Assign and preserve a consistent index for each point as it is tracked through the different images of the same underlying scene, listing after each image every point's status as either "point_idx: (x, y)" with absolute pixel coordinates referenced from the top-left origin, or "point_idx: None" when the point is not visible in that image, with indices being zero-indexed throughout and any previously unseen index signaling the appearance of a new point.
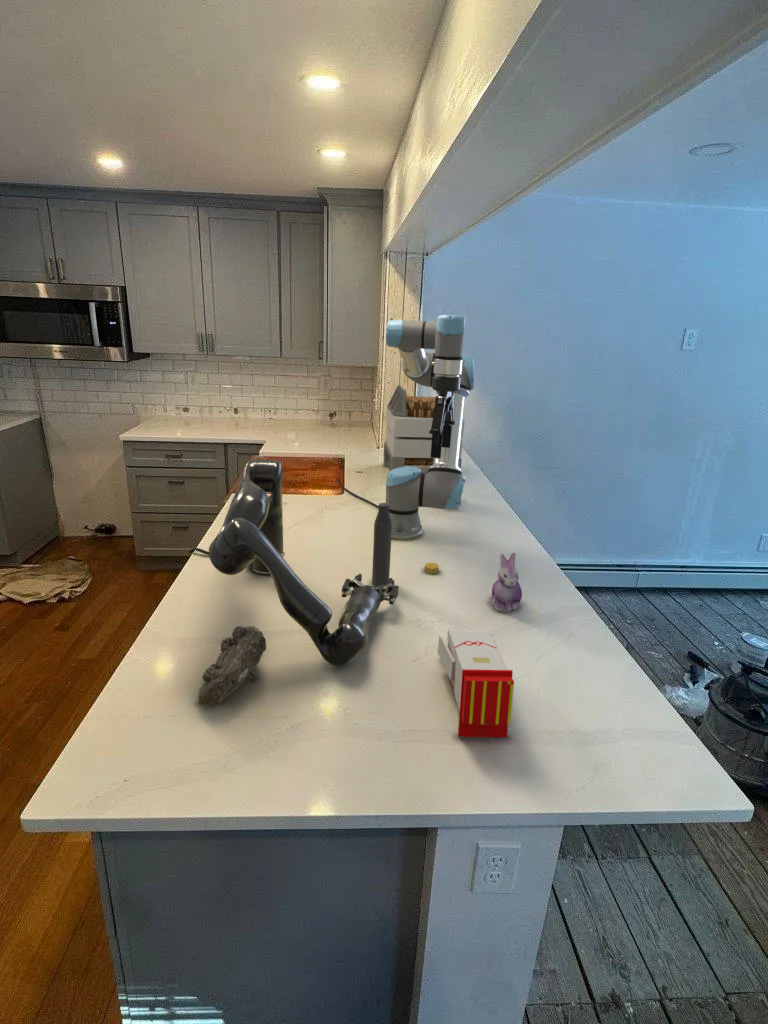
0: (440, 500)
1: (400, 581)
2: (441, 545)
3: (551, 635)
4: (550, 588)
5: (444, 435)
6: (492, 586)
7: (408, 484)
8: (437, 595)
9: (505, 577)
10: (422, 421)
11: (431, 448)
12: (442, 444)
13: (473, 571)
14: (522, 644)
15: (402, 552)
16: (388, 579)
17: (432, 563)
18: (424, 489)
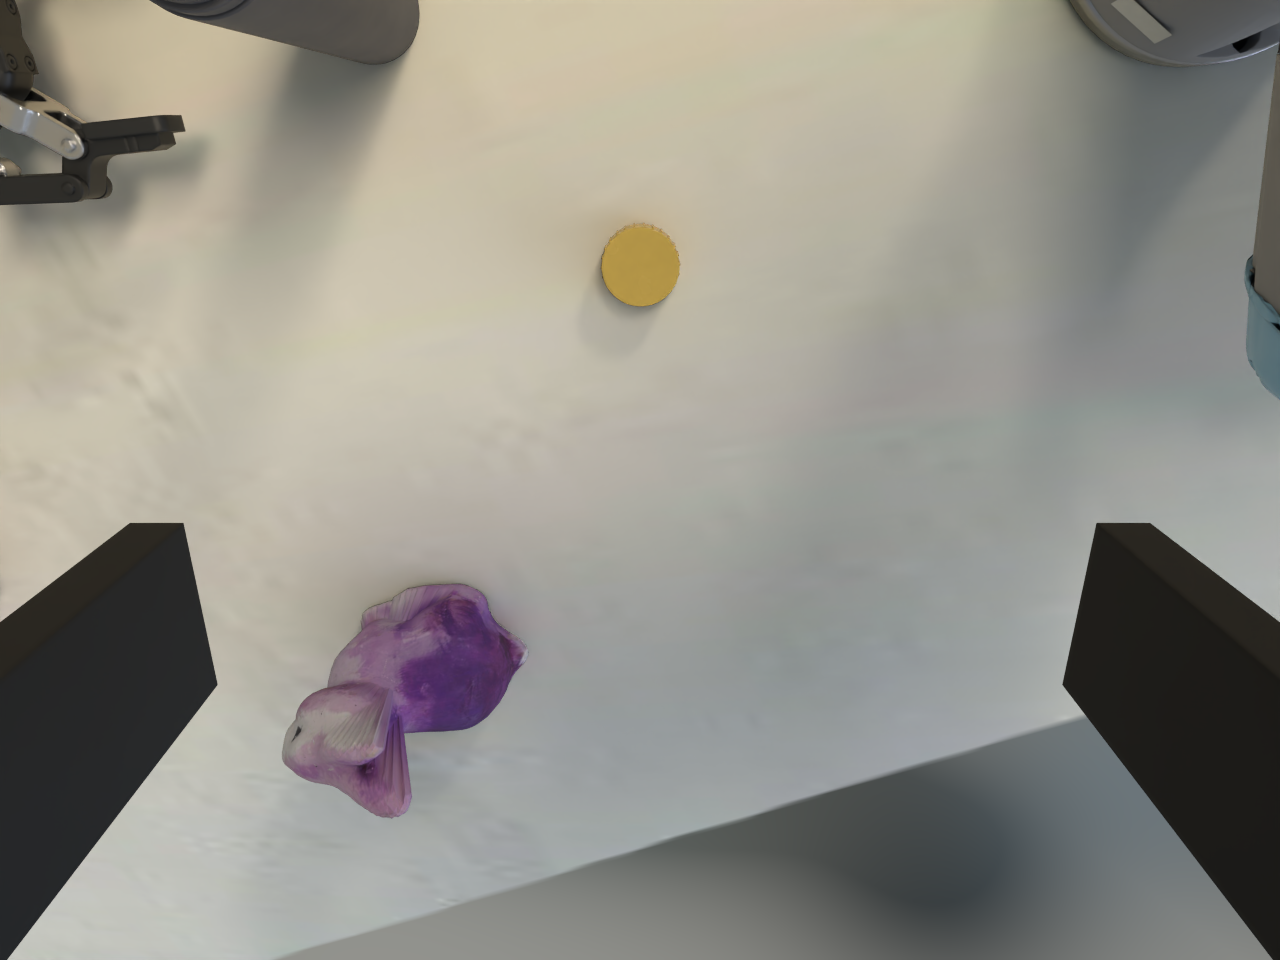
0: (1267, 232)
1: (442, 122)
2: (1030, 240)
3: (284, 791)
4: (667, 781)
5: (1234, 734)
6: (439, 613)
7: None
8: (381, 351)
9: (295, 732)
10: None
11: (15, 619)
12: (1120, 580)
13: (720, 470)
14: None
15: (848, 14)
16: (357, 61)
17: (668, 264)
18: None
